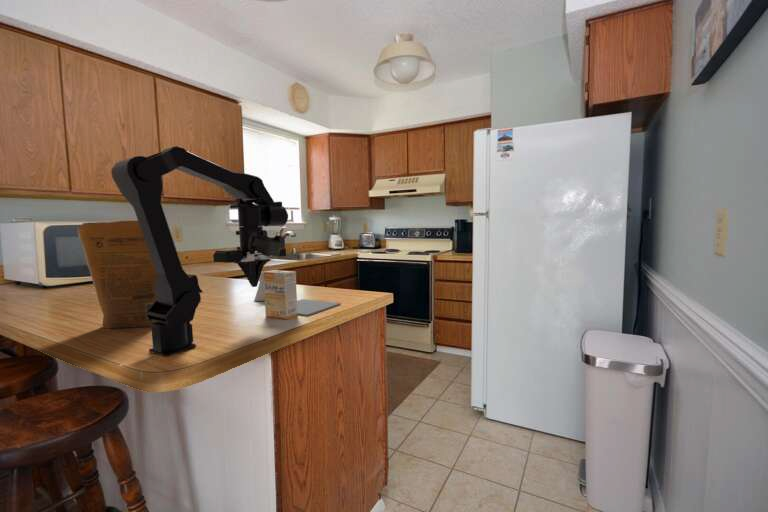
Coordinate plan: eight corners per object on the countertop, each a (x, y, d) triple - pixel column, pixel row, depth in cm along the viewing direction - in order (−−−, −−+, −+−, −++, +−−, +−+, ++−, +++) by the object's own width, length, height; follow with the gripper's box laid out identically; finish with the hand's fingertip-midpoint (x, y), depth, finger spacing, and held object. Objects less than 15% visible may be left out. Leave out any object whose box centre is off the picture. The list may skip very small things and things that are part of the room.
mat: (307, 316, 98) (307, 314, 98) (267, 310, 106) (267, 309, 105) (340, 304, 112) (340, 303, 112) (303, 300, 119) (302, 299, 119)
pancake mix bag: (162, 328, 89) (154, 219, 87) (84, 331, 88) (73, 221, 86) (176, 321, 96) (168, 220, 94) (103, 324, 95) (94, 222, 92)
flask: (260, 297, 127) (259, 270, 126) (279, 297, 126) (278, 270, 125) (250, 301, 120) (248, 273, 119) (270, 302, 119) (268, 273, 118)
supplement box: (264, 317, 98) (262, 271, 97) (277, 313, 103) (274, 269, 102) (286, 320, 95) (284, 272, 93) (298, 315, 99) (296, 270, 98)
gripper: (241, 226, 77) (245, 295, 78) (299, 225, 93) (302, 282, 94) (209, 227, 82) (214, 292, 83) (270, 226, 98) (273, 280, 100)
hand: (254, 286), depth 90 cm, fingers closed
